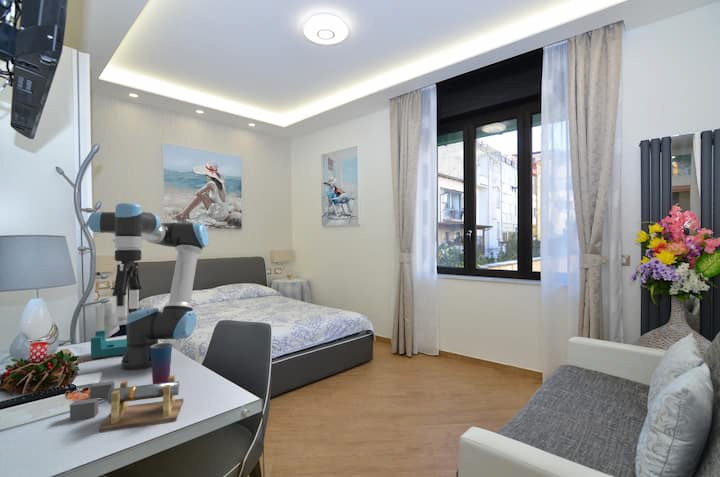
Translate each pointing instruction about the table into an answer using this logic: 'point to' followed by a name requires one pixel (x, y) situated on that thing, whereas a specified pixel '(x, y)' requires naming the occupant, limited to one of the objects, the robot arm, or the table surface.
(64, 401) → the table surface
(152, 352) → the cup
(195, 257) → the robot arm
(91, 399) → the grey blocks
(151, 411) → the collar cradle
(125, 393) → the brushed aluminium bar
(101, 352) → the teal l-shaped bracket
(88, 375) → the hard drive
